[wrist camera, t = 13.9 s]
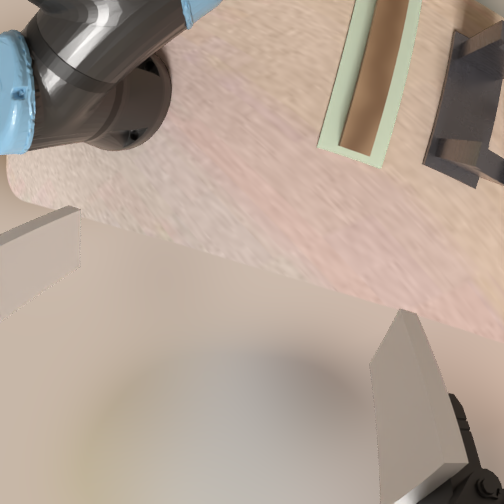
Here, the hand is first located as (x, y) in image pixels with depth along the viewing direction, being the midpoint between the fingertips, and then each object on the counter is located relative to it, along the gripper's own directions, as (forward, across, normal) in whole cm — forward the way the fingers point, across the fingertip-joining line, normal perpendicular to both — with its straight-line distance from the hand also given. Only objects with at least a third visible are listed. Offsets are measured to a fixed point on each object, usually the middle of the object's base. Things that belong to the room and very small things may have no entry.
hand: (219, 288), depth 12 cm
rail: (+28, +6, +17) cm, 33 cm away
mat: (+29, +6, +17) cm, 34 cm away
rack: (+29, +19, +16) cm, 38 cm away
